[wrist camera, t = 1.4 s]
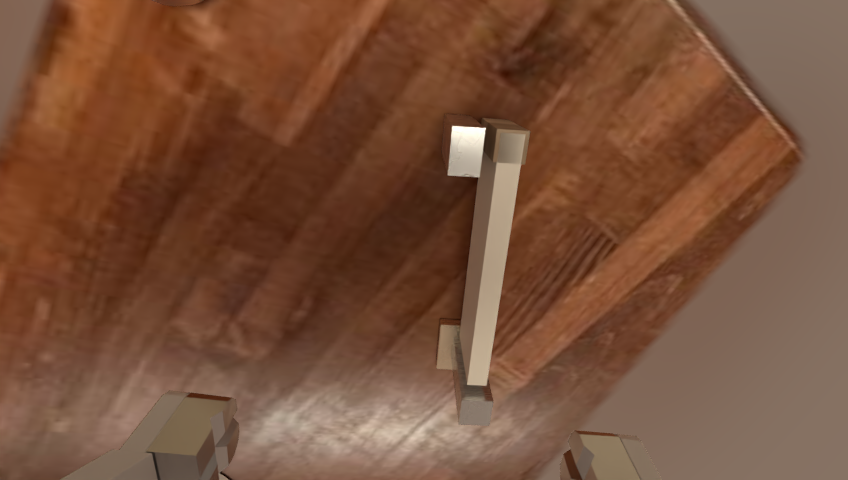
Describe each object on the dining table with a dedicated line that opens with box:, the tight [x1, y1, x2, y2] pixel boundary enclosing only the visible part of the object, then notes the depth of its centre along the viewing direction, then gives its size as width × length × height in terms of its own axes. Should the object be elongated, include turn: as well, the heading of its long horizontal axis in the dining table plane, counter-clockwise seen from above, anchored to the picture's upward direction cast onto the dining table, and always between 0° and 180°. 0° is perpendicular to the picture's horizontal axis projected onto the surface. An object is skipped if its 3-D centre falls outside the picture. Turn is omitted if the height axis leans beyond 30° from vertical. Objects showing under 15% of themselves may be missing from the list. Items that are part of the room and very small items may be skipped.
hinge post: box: [436, 319, 493, 426], centre depth 36 cm, size 5×5×9 cm
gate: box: [460, 118, 530, 386], centre depth 31 cm, size 19×2×6 cm, turn 176°
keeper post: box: [441, 114, 486, 177], centre depth 29 cm, size 3×2×8 cm, turn 176°
